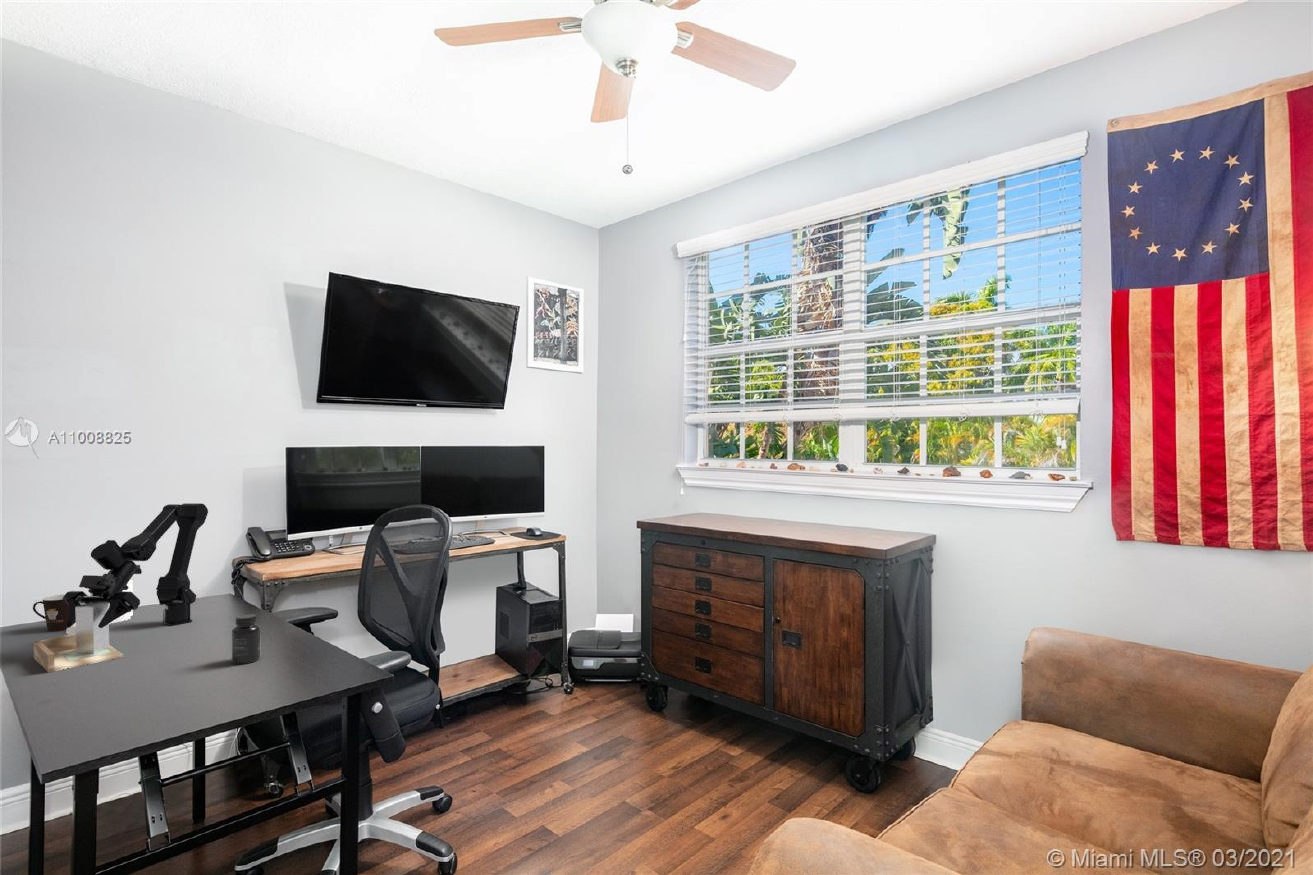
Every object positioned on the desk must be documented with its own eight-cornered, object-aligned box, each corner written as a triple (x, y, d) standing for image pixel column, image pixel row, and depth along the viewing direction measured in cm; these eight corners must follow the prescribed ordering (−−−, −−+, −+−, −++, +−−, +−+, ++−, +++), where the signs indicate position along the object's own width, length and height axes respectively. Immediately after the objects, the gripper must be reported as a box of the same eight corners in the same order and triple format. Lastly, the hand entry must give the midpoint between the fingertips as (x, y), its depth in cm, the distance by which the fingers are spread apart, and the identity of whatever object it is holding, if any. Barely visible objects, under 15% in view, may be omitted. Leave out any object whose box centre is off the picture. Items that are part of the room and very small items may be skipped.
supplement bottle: (266, 658, 183) (266, 614, 183) (242, 666, 177) (242, 620, 177) (250, 655, 186) (250, 612, 186) (225, 662, 180) (225, 618, 180)
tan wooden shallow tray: (105, 644, 196) (105, 628, 196) (123, 657, 185) (123, 640, 185) (33, 657, 184) (33, 641, 184) (48, 672, 172) (48, 655, 172)
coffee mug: (85, 626, 215) (85, 595, 215) (53, 633, 207) (53, 601, 207) (61, 623, 219) (61, 592, 219) (29, 630, 211) (29, 598, 211)
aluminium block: (92, 647, 190) (91, 602, 190) (109, 647, 190) (108, 602, 190) (76, 653, 185) (75, 607, 185) (93, 653, 185) (92, 607, 185)
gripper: (68, 562, 190) (30, 611, 179) (132, 563, 190) (98, 612, 179) (92, 584, 198) (58, 632, 187) (154, 585, 198) (122, 633, 187)
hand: (83, 627), depth 185 cm, fingers open, 9 cm apart
